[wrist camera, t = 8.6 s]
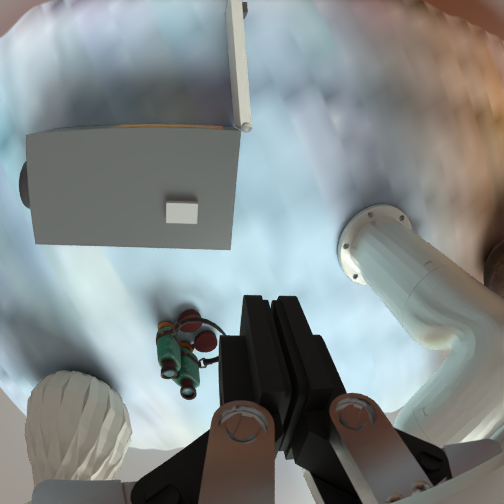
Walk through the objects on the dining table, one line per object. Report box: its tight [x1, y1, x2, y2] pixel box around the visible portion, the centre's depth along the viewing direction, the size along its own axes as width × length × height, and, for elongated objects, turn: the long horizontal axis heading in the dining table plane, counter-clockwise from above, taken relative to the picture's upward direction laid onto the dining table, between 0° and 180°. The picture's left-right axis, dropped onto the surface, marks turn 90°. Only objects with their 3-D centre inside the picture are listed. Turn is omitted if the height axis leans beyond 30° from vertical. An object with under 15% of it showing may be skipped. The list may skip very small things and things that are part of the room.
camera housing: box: [19, 124, 241, 250], centre depth 31 cm, size 24×12×9 cm, turn 84°
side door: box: [225, 0, 252, 132], centre depth 28 cm, size 14×2×7 cm, turn 4°
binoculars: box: [156, 310, 226, 400], centre depth 42 cm, size 9×11×10 cm
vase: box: [25, 370, 132, 504], centre depth 36 cm, size 20×20×30 cm
